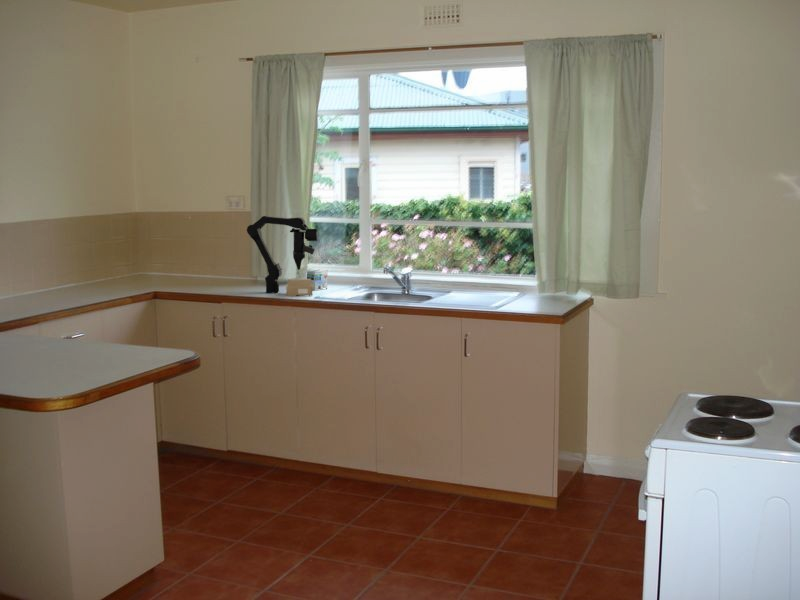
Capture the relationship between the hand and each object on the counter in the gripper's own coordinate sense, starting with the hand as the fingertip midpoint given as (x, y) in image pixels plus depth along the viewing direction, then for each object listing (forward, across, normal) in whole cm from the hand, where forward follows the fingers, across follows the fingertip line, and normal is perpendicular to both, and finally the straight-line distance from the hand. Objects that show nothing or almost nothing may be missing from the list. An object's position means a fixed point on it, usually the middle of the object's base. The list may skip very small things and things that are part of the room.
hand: (298, 269), depth 472 cm
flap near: (+5, -12, 0) cm, 13 cm away
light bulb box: (+13, +16, -10) cm, 23 cm away
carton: (+13, -5, 0) cm, 14 cm away
